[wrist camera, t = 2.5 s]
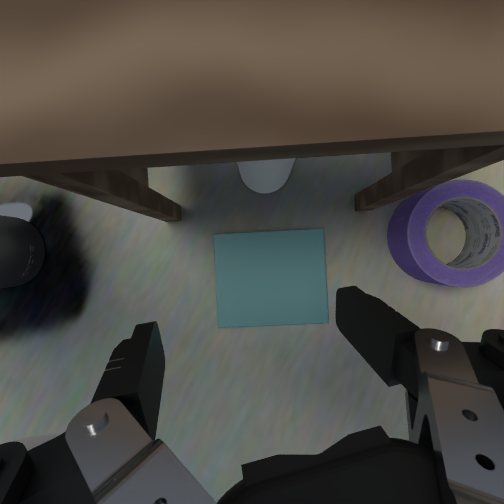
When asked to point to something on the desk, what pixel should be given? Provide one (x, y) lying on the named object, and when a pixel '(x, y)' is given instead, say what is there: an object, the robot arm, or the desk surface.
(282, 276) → the pad
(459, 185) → the tape roll
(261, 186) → the can
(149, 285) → the desk surface
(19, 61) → the small wooden table
